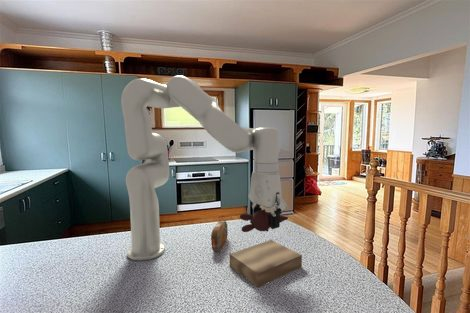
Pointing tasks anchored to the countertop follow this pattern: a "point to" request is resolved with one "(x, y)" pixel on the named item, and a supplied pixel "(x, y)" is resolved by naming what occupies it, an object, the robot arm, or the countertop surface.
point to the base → (265, 262)
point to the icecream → (259, 221)
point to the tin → (219, 236)
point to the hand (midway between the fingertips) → (265, 223)
